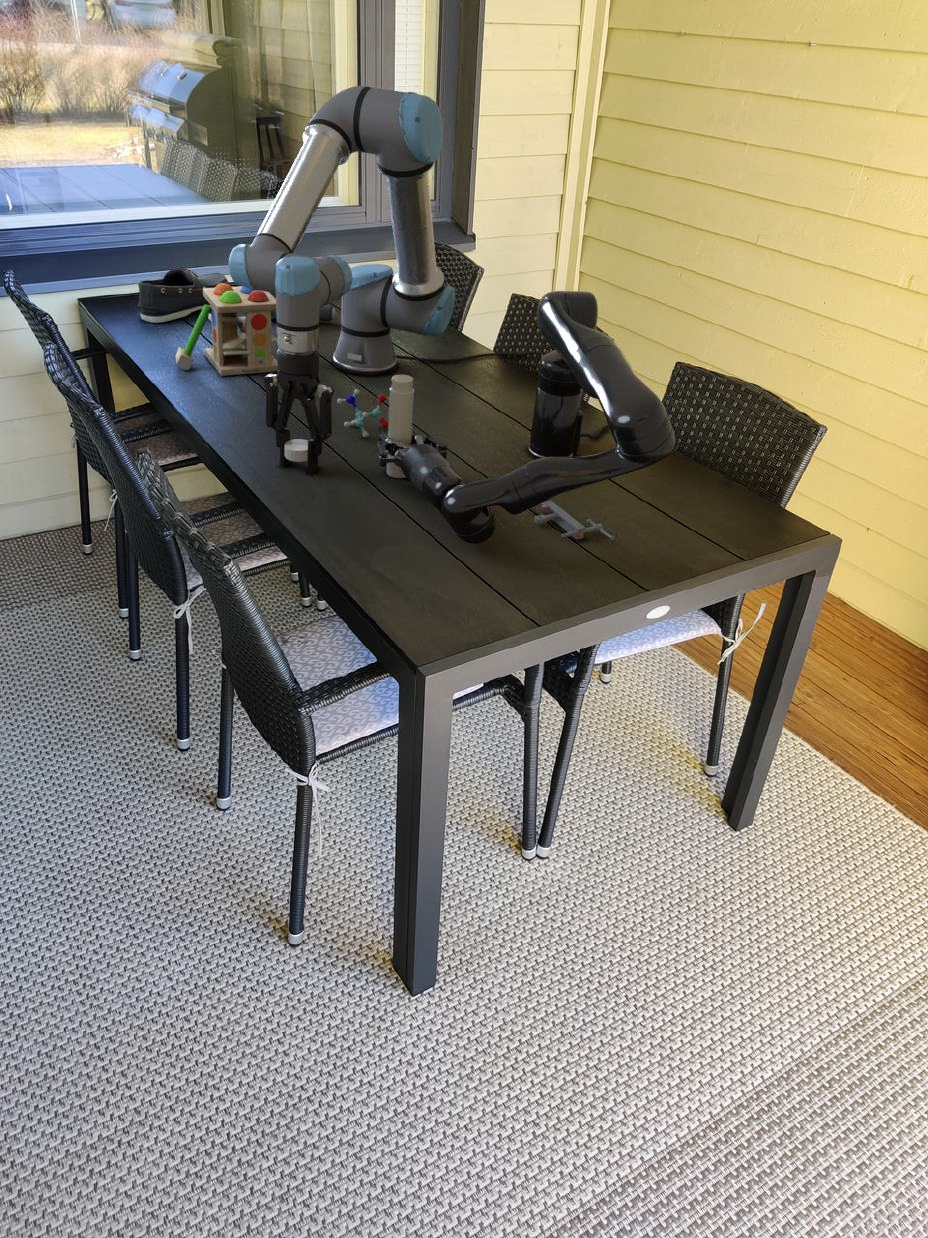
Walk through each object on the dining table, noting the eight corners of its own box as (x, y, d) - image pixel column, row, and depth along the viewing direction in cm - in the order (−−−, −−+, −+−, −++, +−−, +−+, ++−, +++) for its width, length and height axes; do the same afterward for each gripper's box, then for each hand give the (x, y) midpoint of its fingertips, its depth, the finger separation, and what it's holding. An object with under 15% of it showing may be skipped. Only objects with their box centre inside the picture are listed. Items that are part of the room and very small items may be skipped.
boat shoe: (248, 301, 272) (246, 262, 267) (158, 325, 248) (153, 283, 243) (214, 293, 278) (211, 255, 272) (123, 315, 254) (117, 274, 248)
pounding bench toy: (183, 379, 220) (176, 299, 210) (169, 357, 231) (162, 280, 221) (282, 371, 230) (280, 294, 220) (264, 350, 240) (262, 276, 230)
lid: (291, 463, 185) (290, 452, 183) (280, 452, 188) (279, 441, 187) (317, 459, 187) (317, 448, 186) (306, 448, 191) (306, 437, 190)
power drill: (344, 304, 276) (335, 327, 259) (277, 298, 275) (264, 321, 258) (344, 285, 273) (335, 306, 256) (277, 279, 272) (264, 300, 255)
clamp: (523, 504, 179) (568, 495, 184) (522, 515, 180) (566, 506, 185) (570, 543, 169) (616, 532, 173) (569, 554, 170) (614, 543, 174)
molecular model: (383, 429, 198) (367, 381, 197) (344, 444, 202) (327, 397, 200) (405, 426, 209) (389, 380, 207) (367, 440, 212) (351, 395, 211)
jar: (388, 466, 193) (392, 372, 182) (411, 469, 193) (416, 375, 182) (384, 476, 189) (388, 381, 178) (408, 479, 189) (413, 383, 178)
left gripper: (242, 344, 176) (247, 463, 188) (334, 365, 171) (332, 485, 184) (264, 333, 181) (267, 449, 194) (353, 352, 177) (350, 470, 190)
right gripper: (392, 496, 176) (358, 456, 189) (463, 486, 182) (427, 448, 194) (393, 458, 172) (359, 420, 184) (467, 449, 178) (429, 412, 190)
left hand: (299, 466), depth 189 cm, fingers closed on lid, 5 cm apart
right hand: (394, 434), depth 189 cm, fingers closed on jar, 4 cm apart
